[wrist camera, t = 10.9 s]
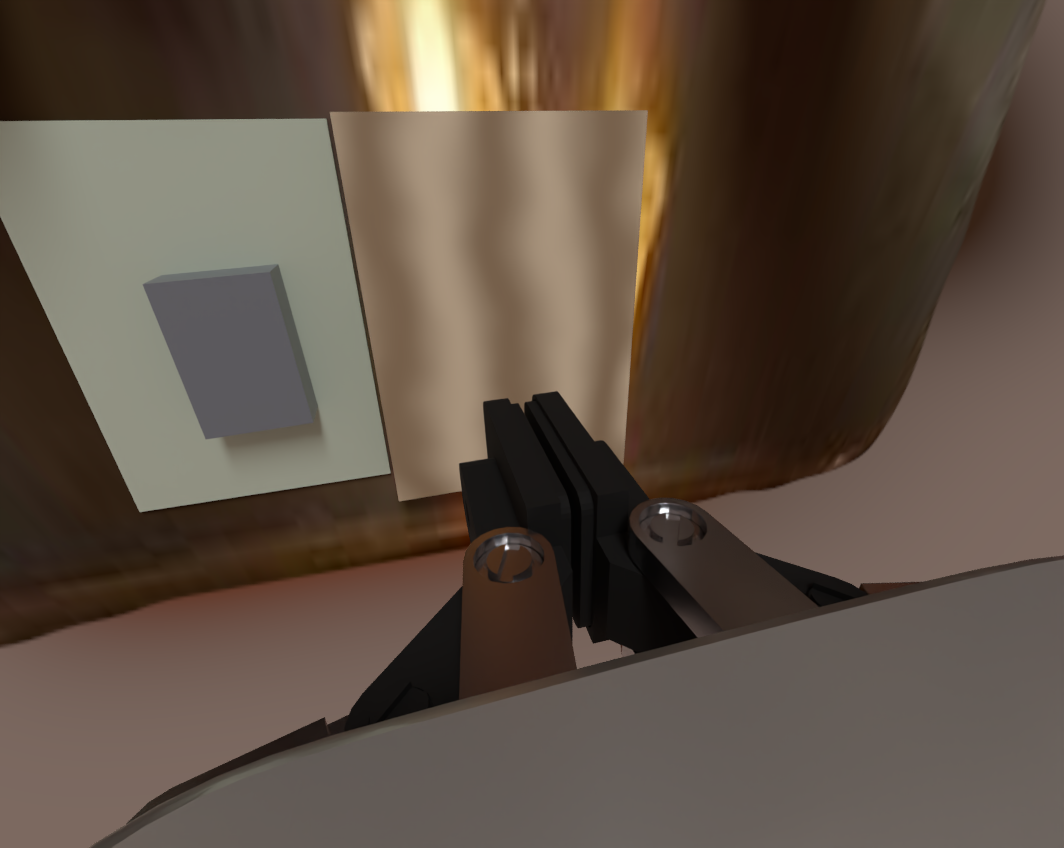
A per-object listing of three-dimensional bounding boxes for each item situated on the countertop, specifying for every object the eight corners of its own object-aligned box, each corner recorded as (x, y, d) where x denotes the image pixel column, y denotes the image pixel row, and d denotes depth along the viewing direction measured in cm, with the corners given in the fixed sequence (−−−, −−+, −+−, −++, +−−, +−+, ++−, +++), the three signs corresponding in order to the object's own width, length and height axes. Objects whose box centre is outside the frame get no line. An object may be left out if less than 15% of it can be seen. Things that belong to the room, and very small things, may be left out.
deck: (617, 117, 30) (647, 110, 27) (602, 438, 40) (623, 464, 37) (336, 119, 27) (329, 111, 23) (397, 470, 37) (398, 501, 33)
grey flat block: (142, 284, 25) (161, 275, 28) (205, 439, 30) (217, 421, 32) (269, 272, 27) (278, 263, 29) (313, 422, 31) (318, 406, 33)
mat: (326, 119, 27) (326, 118, 26) (390, 471, 37) (390, 473, 37) (-40, 121, 23) (-45, 121, 23) (141, 509, 33) (139, 512, 33)
